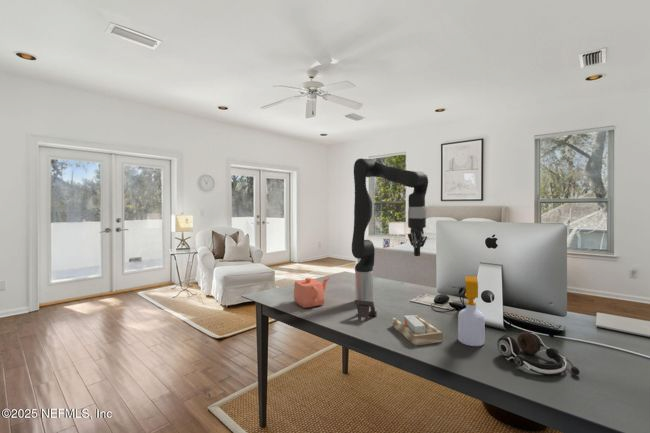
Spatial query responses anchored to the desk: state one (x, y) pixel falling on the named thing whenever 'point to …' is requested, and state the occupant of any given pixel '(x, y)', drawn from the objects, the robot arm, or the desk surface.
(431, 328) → the wooden tray
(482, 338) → the soap bottle
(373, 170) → the robot arm
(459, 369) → the desk surface
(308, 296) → the teapot
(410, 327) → the skincare box
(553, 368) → the headset
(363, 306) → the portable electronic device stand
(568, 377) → the desk surface
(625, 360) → the desk surface
